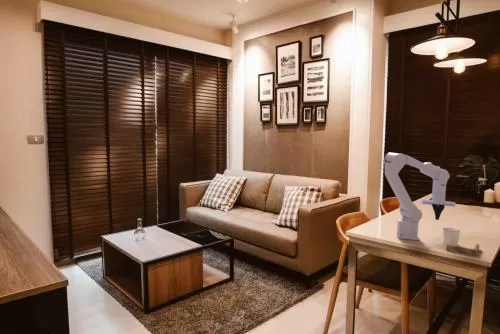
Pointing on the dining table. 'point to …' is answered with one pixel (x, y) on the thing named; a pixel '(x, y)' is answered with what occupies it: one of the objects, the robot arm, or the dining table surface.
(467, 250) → the corner stop
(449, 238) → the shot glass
